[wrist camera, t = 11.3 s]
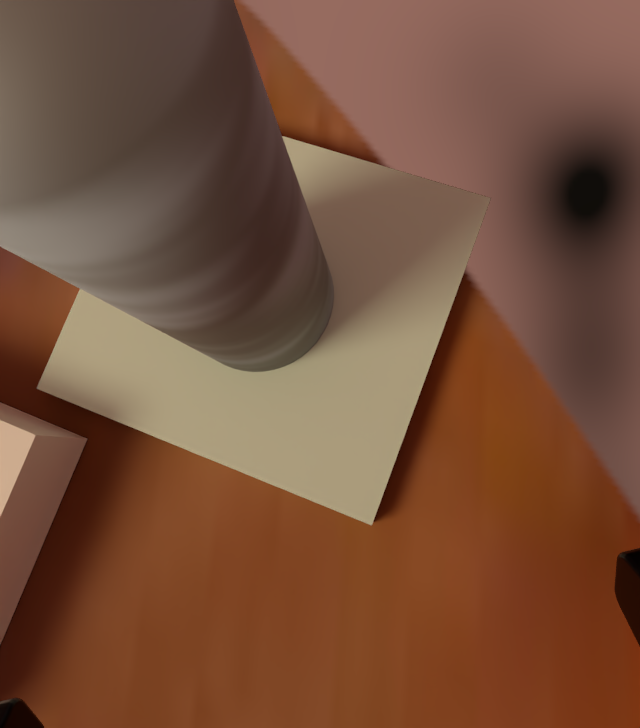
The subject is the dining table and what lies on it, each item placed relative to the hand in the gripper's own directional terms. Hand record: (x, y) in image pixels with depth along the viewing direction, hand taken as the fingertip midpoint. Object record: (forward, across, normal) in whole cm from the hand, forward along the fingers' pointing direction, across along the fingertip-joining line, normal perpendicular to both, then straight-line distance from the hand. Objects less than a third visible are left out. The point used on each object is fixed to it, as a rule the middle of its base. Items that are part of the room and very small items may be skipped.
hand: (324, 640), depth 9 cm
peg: (+13, +1, 0) cm, 13 cm away
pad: (+13, 0, 0) cm, 13 cm away
